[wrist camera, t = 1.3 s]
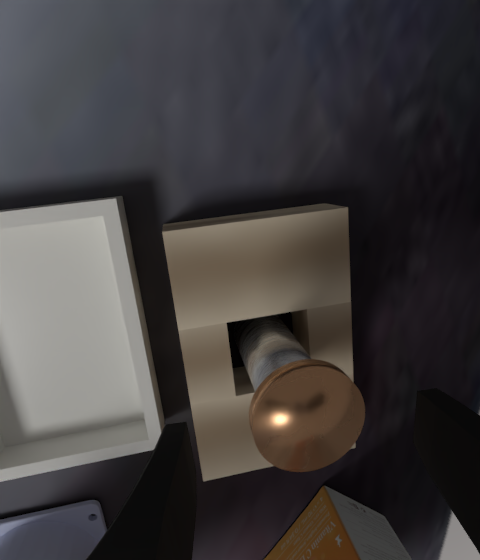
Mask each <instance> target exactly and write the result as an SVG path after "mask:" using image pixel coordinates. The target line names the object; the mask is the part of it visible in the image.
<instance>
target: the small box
mask: <svg viewBox="0 0 480 560" xmlns="http://www.w3.org/2000/svg"><path fill="white" fill-rule="evenodd" d="M263 560H412V559H411V557H410V556H409V554H408V553H407V551H406V549H405V548H404V546H403V545H402V543H401V542H400V540H399V538H398V537H397V535H396V534H395V532H394V530H393V529H392V527H391V526H390V524H389V522H388V521H387V519H386V518H385V516H383V515H381V514H380V513H378V512H376V511H374V510H372V509H370V508H368V507H366V506H364V505H362V504H360V503H358V502H356V501H354V500H352V499H351V498H349V497H347V496H345V495H343V494H341V493H339V492H337V491H335V490H333V489H331V488H329V487H327V486H322V488H321V489H320V490H319V492H318V493H317V495H316V496H315V497H314V499H313V500H312V501H311V503H310V504H309V505H308V506H307V508H306V509H305V510H304V511H303V513H302V514H301V515H300V516H299V517H298V519H297V520H296V521H295V522H294V524H293V525H292V526H291V528H290V529H289V530H288V531H287V532H286V534H285V535H284V536H283V537H282V538H281V540H280V541H279V542H278V543H277V544H276V546H275V547H274V548H273V549H272V551H271V552H270V553H269V554H268V555H267V557H266V558H265V559H263Z"/></svg>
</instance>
